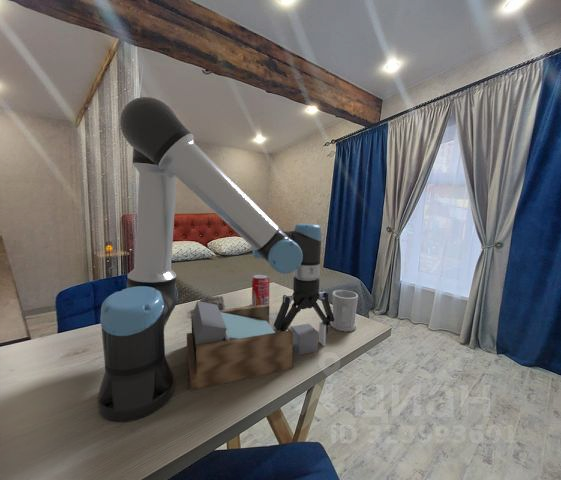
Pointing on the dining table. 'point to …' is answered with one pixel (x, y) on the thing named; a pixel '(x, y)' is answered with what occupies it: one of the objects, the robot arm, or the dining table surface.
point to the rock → (214, 301)
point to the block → (304, 338)
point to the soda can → (260, 290)
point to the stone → (272, 320)
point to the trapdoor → (224, 325)
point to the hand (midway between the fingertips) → (304, 346)
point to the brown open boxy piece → (239, 353)
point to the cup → (344, 310)
